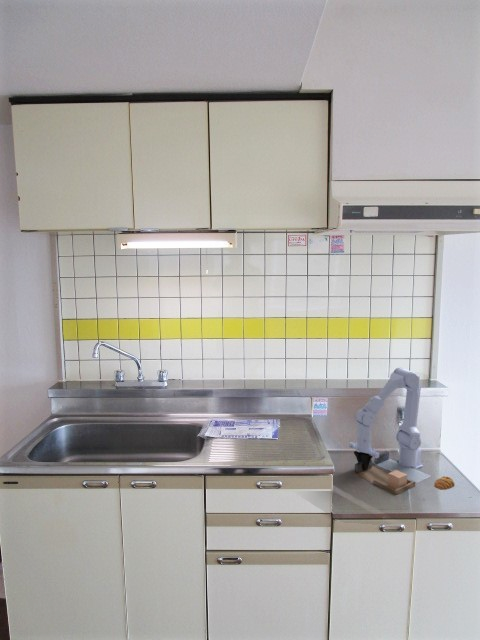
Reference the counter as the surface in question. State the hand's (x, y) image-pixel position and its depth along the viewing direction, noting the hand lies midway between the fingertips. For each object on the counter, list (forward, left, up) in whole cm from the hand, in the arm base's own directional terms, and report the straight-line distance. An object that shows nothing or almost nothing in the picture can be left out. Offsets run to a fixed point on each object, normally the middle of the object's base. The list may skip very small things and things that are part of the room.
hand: (363, 468), depth 184 cm
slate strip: (-14, +9, -2) cm, 16 cm away
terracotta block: (0, +17, -1) cm, 17 cm away
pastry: (-16, +27, -3) cm, 32 cm away
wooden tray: (0, +10, -2) cm, 10 cm away
